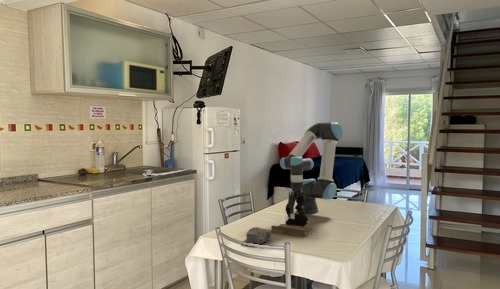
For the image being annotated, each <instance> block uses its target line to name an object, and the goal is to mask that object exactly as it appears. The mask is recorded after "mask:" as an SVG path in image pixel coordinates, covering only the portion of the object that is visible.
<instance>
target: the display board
mask: <svg viewBox="0 0 500 289" xmlns="http://www.w3.org/2000/svg"><path fill="white" fill-rule="evenodd" d="M270 230H271V231H270V234H279V235H285V236H292V237H299V236H300V237H301V238H305V237H306V236H308V235H309V234H310V233H311V232H312V231H313V227H309V226H298V225H290V224H286V223H284V224H283V223H280V224H279V225H271V229H270ZM308 233H309V234H308ZM300 237H299V238H300Z"/></svg>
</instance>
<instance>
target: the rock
mask: <svg viewBox="0 0 500 289" xmlns="http://www.w3.org/2000/svg"><path fill="white" fill-rule="evenodd" d="M271 236H272V233H271V231H270V230H268V229H265V228H264V229H263V228H261V227H260V226H259V227H258V226H255V227H251V228H249V229H248V231H247V232H246V239H245V240H246V243H249V242H250V243H249V244H255V243H257V244H258V245H262V244H264V243H266V242H267V241H268V240H270V239H271ZM257 244H256V245H257Z"/></svg>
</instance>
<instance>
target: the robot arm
mask: <svg viewBox="0 0 500 289" xmlns="http://www.w3.org/2000/svg"><path fill="white" fill-rule="evenodd" d="M343 134H344V133H343V128H342V126H341V124H340V123H339V122H333V121H332V122H318V123H315V124H313V125H312V126H310V127H308V129H307V130H306V131H305V132H304V134H303V136H302V138H301V139H300V140H299V142H297V144H296V145H295V146H294V147H293V149H292V150H291V152H289V154H288V155H287V156H285V157H282V158H280V160H279V165H280V168H282V169H283V170H290V188H291V191H288V198H287V200H288V202H287V203H288V208H290V218H291V219H295V213H296V212H295V210H296V209H295V206H296V198H298V197H300V196H303V197H304V201H305V202H302V203H300V204H299V205H301V206H302V207H303V209H304V213H305V214H316V213H318V212H319V207H318V204H317V202H316V199H321V200H327V201H329V200H332V199H334V197H335V196H336V194H337V189H338V188H337V184H336V183H335V180H334V179H333V172H334V166H335V165H334V163H335V154H336V146H337V144H338V143H339V140H342V139H343V138H342V137H343ZM320 139H321V142H322V144H323V145H322V146H323V147H322V153H321V160H320V161H321V164H320V171H319V176H318V177H317V179H315V178H308V179H304V177H303V175H304V174H303V172H305V171H310V170H312V169H313V168H314V166H315V164H314V163H315V162H314V161H313V159H312V158H310V157H309V158H303V155H304V154H305V153H306V152H307V150H308V149H309V147H311V145H312V144H313V143H315V142H316V141H317V140H320ZM297 196H298V197H297ZM296 211H297V210H296ZM297 213H299V212H298V211H297Z"/></svg>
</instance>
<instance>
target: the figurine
mask: <svg viewBox="0 0 500 289" xmlns="http://www.w3.org/2000/svg"><path fill="white" fill-rule="evenodd" d="M302 202H305V201H304V197H303V196H300V197H298V196H297V198H296V201H295V206H294V208H295V210H296V211H298V212H297V213H296V212H295V219H291V218H290V208H288V202H287V203H286V205H285V213H286V215H287V217H288V219H286V220H285V223H284V224H286V225H294V226H302V227H306V226H307V225H308V224H309V223H308V221H309V217H308V216H307V215H306V213H304V209H303V207H302V206H301V205H299V204H300V203H302Z"/></svg>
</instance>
